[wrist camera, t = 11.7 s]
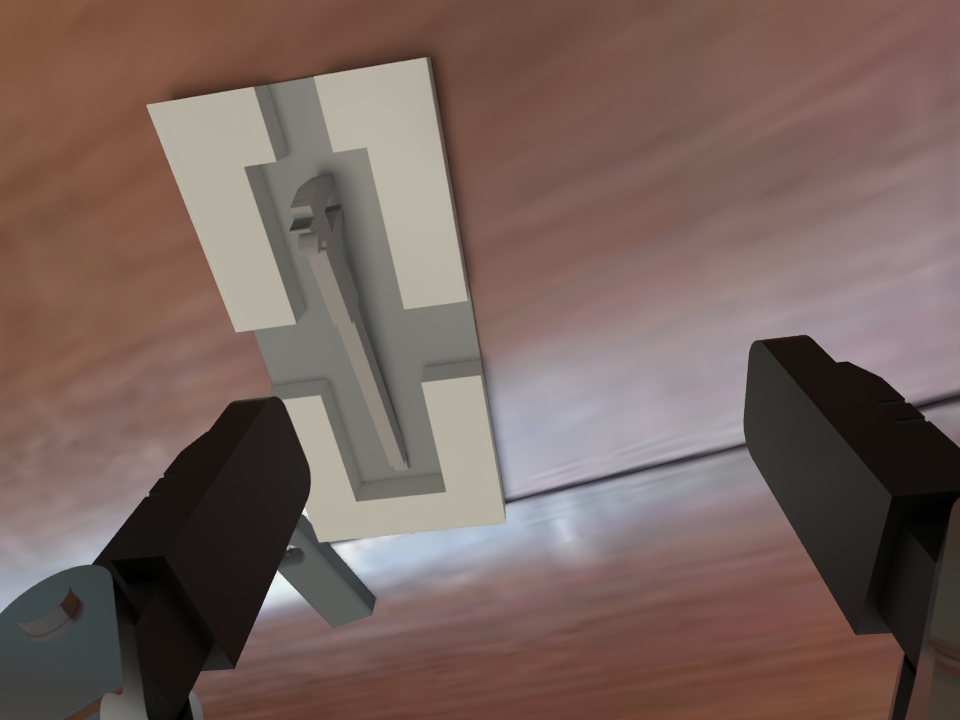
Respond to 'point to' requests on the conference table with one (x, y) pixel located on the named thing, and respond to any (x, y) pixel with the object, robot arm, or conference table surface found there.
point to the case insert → (376, 276)
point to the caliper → (344, 303)
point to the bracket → (324, 578)
